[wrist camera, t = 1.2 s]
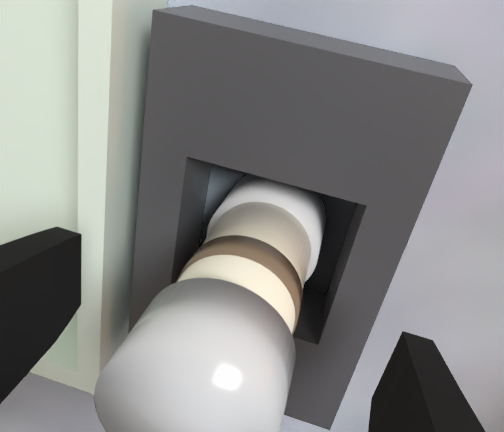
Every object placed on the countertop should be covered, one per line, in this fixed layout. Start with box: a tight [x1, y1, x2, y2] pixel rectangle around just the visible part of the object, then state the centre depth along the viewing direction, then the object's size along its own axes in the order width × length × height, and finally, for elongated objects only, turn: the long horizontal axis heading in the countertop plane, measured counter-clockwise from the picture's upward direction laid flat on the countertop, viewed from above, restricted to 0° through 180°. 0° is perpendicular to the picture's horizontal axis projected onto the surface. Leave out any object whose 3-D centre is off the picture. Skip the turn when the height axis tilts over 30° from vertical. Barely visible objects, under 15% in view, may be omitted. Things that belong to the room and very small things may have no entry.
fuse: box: [94, 174, 326, 432], centre depth 11 cm, size 3×3×8 cm
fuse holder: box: [128, 5, 472, 430], centre depth 14 cm, size 11×7×2 cm, turn 169°
